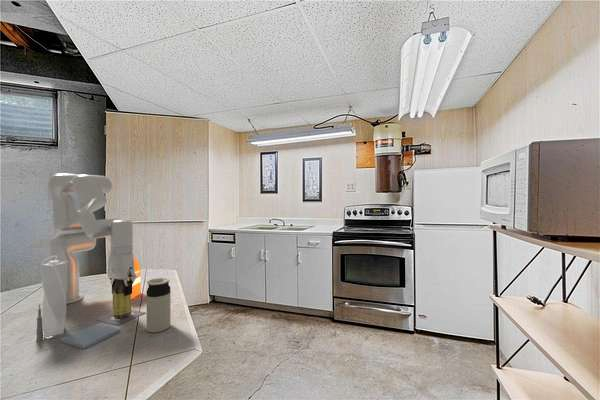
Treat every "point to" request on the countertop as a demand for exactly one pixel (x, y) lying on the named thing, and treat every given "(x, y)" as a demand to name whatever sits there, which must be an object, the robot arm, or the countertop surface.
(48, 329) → the skyscraper
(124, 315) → the sauce bottle
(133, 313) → the tile
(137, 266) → the orange juice
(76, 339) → the pad
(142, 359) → the countertop surface
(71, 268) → the robot arm
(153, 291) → the travel mug
